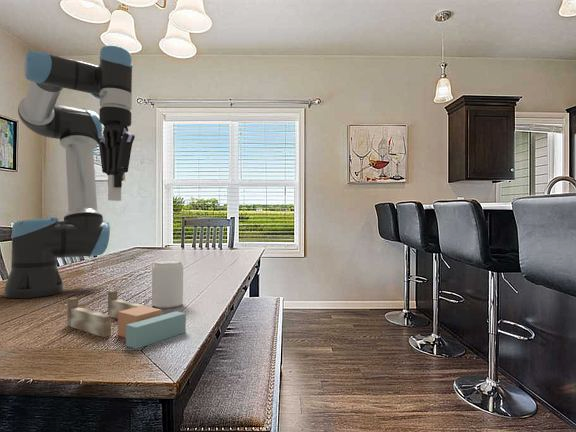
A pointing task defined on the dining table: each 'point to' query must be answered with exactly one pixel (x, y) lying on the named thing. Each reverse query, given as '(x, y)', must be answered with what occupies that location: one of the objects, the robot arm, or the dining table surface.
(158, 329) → the stop block
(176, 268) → the beverage can
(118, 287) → the dining table surface
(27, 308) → the dining table surface
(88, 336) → the dining table surface
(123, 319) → the block
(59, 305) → the dining table surface
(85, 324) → the parallel beige rails
